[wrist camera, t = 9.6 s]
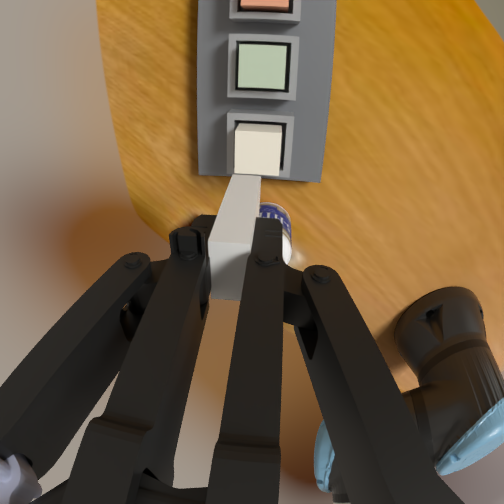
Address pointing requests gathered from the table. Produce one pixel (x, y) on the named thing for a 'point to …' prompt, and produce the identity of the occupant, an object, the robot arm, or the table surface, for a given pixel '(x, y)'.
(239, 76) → the sage button
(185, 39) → the table surface
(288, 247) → the pill bottle
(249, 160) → the cream button
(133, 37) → the table surface
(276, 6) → the terracotta button
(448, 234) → the table surface
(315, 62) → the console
